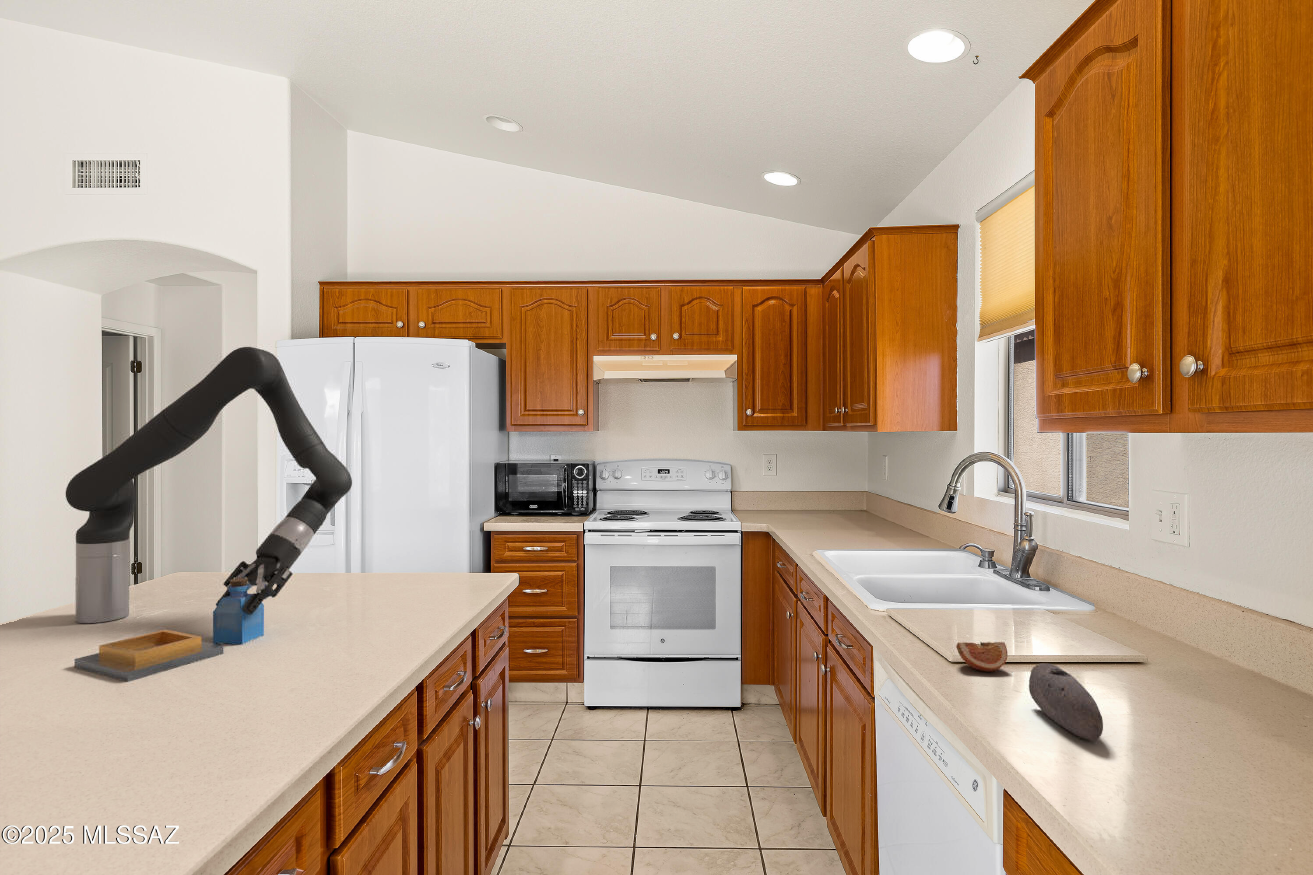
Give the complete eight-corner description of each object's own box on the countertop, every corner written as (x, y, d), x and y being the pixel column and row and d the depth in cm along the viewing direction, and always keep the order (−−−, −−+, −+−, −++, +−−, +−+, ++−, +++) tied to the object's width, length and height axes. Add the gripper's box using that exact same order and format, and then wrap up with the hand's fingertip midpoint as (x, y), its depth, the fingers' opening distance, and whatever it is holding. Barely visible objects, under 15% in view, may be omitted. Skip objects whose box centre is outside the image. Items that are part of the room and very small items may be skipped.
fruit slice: (964, 675, 118) (964, 646, 117) (949, 662, 124) (949, 635, 124) (1013, 676, 117) (1013, 647, 117) (995, 663, 124) (996, 636, 124)
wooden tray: (74, 667, 120) (74, 647, 120) (171, 642, 134) (171, 624, 134) (127, 681, 113) (127, 660, 113) (223, 653, 127) (223, 634, 127)
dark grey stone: (1118, 752, 89) (1118, 699, 89) (1076, 750, 90) (1076, 697, 90) (1061, 706, 104) (1061, 661, 104) (1025, 704, 105) (1025, 659, 105)
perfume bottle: (263, 635, 139) (263, 576, 139) (242, 644, 133) (242, 583, 133) (235, 634, 140) (235, 575, 140) (213, 643, 133) (213, 582, 133)
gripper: (251, 530, 146) (196, 596, 135) (297, 534, 140) (243, 603, 129) (274, 551, 151) (222, 616, 140) (320, 556, 145) (269, 624, 134)
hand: (232, 610), depth 135 cm, fingers closed on perfume bottle, 7 cm apart
